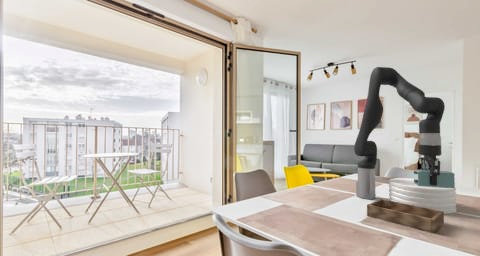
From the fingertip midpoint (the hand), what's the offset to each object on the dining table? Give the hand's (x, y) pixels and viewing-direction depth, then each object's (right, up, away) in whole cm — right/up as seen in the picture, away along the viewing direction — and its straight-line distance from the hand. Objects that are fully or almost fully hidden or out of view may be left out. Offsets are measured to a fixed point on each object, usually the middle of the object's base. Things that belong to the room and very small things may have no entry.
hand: (430, 183), depth 100 cm
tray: (-9, -16, +3) cm, 19 cm away
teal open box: (+7, +2, -3) cm, 7 cm away
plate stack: (+15, -17, +25) cm, 34 cm away
